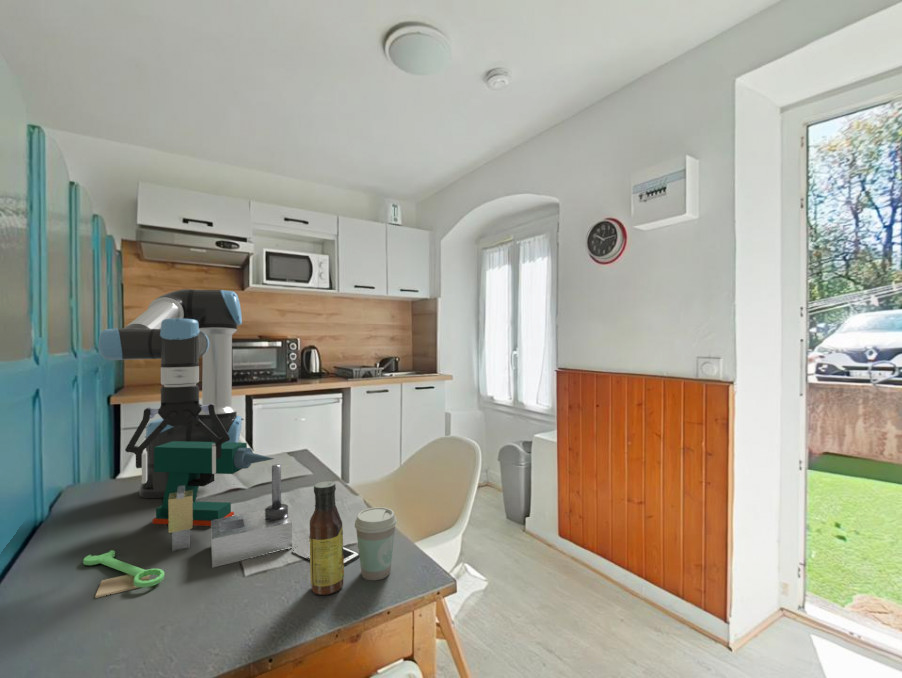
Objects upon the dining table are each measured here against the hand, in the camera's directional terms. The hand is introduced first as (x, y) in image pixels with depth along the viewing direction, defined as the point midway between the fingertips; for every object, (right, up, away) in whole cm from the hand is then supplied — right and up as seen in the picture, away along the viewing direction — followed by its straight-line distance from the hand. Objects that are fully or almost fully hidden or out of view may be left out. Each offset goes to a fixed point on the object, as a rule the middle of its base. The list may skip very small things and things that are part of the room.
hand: (180, 477), depth 99 cm
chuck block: (+17, -16, 0) cm, 23 cm away
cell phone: (+35, -17, -4) cm, 39 cm away
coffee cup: (+47, -16, -11) cm, 51 cm away
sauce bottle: (+39, -16, -16) cm, 45 cm away
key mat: (-2, -16, -15) cm, 22 cm away
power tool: (+1, -16, +15) cm, 22 cm away
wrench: (-5, -16, -11) cm, 20 cm away
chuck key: (0, -16, 0) cm, 16 cm away
